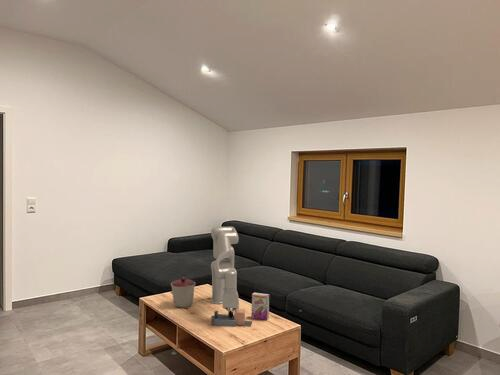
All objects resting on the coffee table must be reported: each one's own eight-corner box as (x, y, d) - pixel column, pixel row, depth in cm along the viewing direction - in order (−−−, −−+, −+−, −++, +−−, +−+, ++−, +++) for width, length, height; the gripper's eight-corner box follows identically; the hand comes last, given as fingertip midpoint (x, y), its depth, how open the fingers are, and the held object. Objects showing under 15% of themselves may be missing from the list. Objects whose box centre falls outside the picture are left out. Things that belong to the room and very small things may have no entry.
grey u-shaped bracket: (215, 318, 262) (215, 310, 262) (238, 320, 260) (238, 312, 259) (211, 325, 251) (211, 316, 251) (235, 326, 249) (235, 318, 249)
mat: (240, 320, 259) (240, 320, 259) (252, 321, 258) (252, 321, 258) (238, 326, 250) (238, 325, 250) (250, 326, 249) (250, 326, 249)
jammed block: (235, 321, 258) (235, 309, 257) (244, 321, 257) (244, 309, 256) (234, 324, 252) (234, 312, 251) (243, 325, 251) (243, 312, 250)
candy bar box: (251, 318, 263) (251, 294, 262) (253, 315, 268) (253, 292, 267) (267, 320, 259) (267, 296, 259) (269, 317, 264) (269, 293, 263)
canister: (199, 306, 286) (199, 278, 285) (177, 311, 275) (177, 282, 274) (188, 299, 300) (188, 272, 300) (166, 304, 290) (166, 276, 289)
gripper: (218, 291, 251) (218, 319, 252) (241, 292, 249) (241, 320, 250) (220, 287, 259) (220, 314, 259) (243, 288, 257) (242, 316, 257)
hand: (230, 317), depth 255 cm, fingers closed
